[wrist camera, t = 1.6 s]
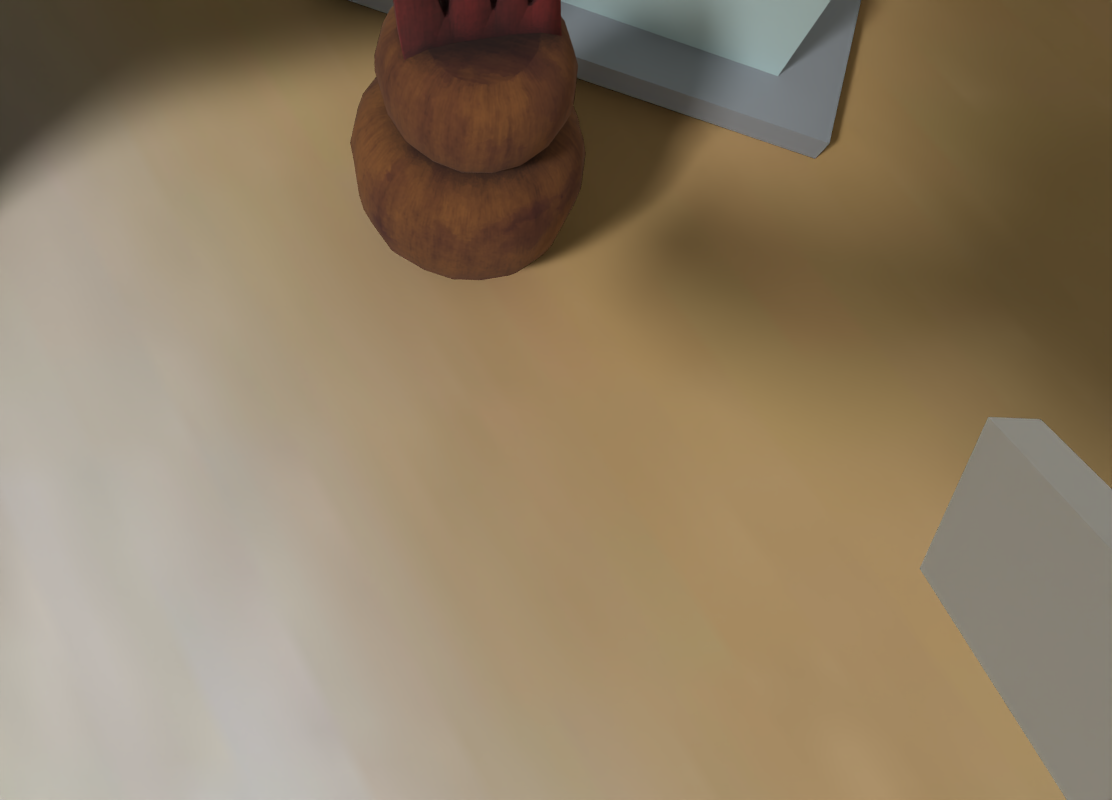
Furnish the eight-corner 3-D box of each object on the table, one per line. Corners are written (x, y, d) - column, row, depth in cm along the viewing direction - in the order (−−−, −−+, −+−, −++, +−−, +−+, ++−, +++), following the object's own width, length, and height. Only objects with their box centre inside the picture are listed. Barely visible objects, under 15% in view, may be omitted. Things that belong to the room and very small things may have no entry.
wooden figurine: (352, 282, 29) (274, -7, 15) (382, 131, 31) (339, -271, 16) (545, 317, 30) (653, 74, 15) (567, 169, 31) (686, -185, 17)
